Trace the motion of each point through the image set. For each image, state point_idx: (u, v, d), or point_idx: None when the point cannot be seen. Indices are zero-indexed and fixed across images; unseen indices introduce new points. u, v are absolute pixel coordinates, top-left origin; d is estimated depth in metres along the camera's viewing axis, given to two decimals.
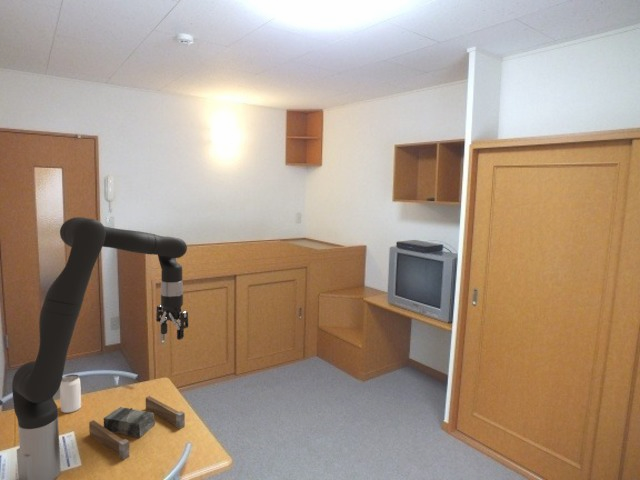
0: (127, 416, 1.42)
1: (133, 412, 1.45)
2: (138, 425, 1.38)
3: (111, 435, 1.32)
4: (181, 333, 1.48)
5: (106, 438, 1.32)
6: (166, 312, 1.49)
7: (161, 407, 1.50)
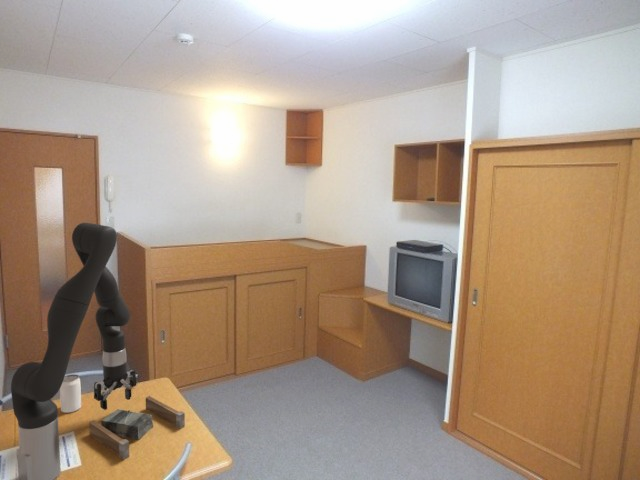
0: (125, 418, 1.41)
1: (130, 414, 1.44)
2: (136, 427, 1.36)
3: (111, 435, 1.32)
4: None
5: (106, 438, 1.32)
6: (116, 382, 1.47)
7: (161, 407, 1.50)
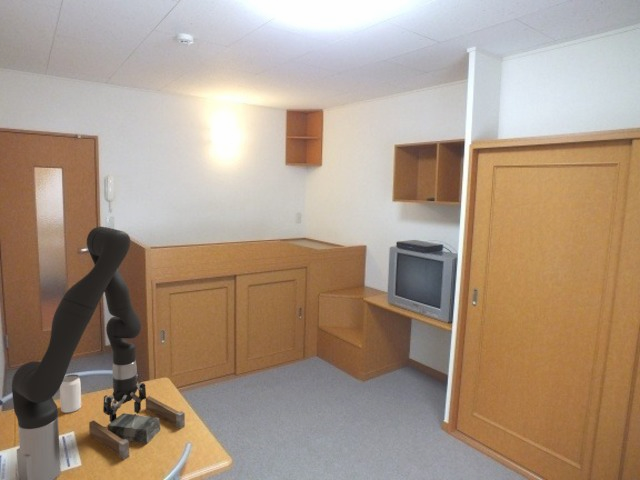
0: (132, 422, 1.39)
1: (137, 418, 1.42)
2: (145, 431, 1.35)
3: (111, 435, 1.32)
4: None
5: (106, 438, 1.32)
6: (126, 395, 1.43)
7: (161, 407, 1.50)
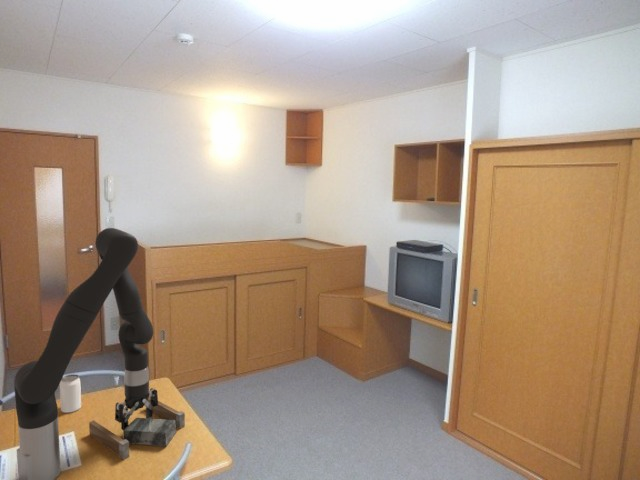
0: (149, 425, 1.37)
1: (152, 421, 1.40)
2: (164, 434, 1.33)
3: (111, 435, 1.32)
4: None
5: (106, 438, 1.32)
6: (138, 402, 1.39)
7: (161, 407, 1.50)
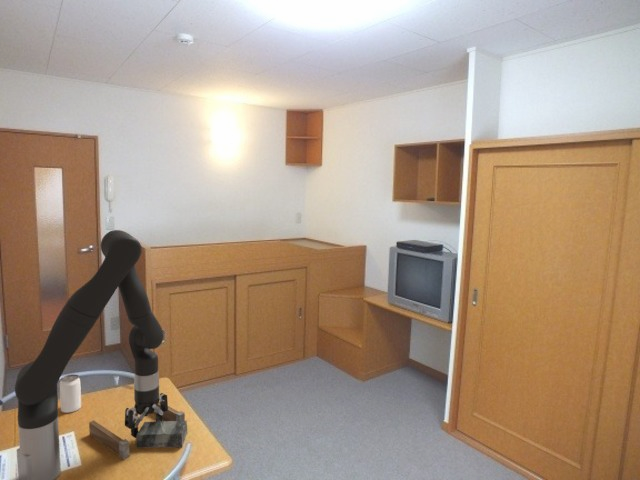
0: (161, 428, 1.36)
1: (164, 424, 1.39)
2: (180, 434, 1.34)
3: (111, 435, 1.32)
4: None
5: (106, 438, 1.32)
6: (148, 407, 1.36)
7: None
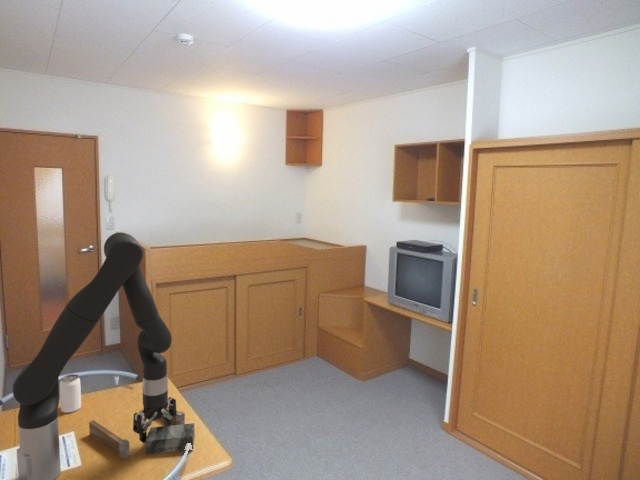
0: (170, 432, 1.34)
1: (171, 428, 1.37)
2: (191, 437, 1.32)
3: (111, 435, 1.32)
4: None
5: (106, 438, 1.32)
6: (156, 412, 1.33)
7: None
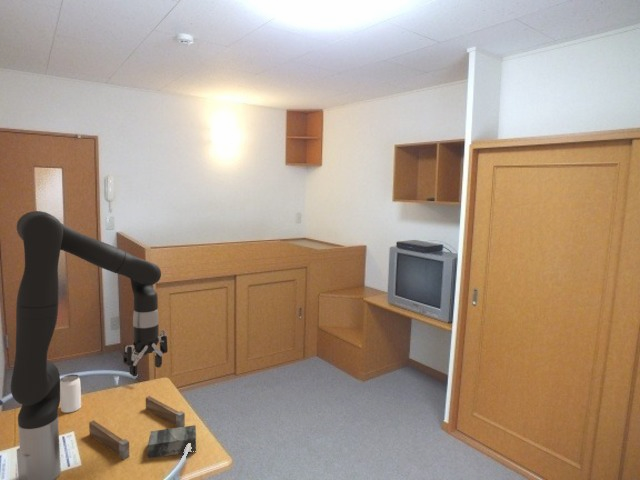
0: (172, 435, 1.33)
1: (172, 431, 1.35)
2: (194, 439, 1.31)
3: (111, 435, 1.32)
4: None
5: (106, 438, 1.32)
6: (147, 346, 1.33)
7: (161, 407, 1.50)
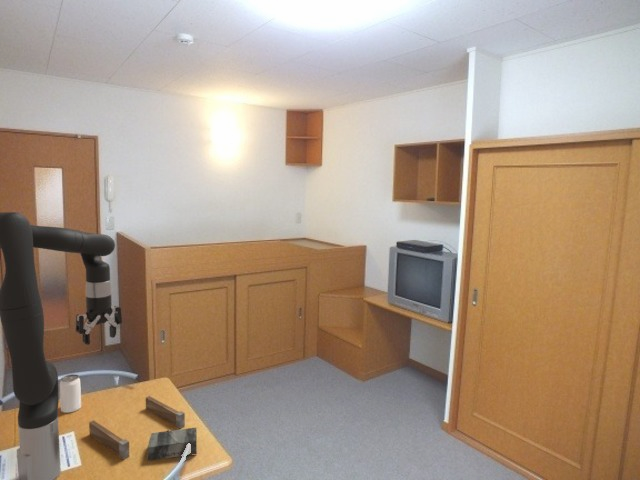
0: (173, 437, 1.31)
1: (173, 433, 1.34)
2: (194, 442, 1.30)
3: (111, 435, 1.32)
4: None
5: (106, 438, 1.32)
6: (99, 315, 1.38)
7: (161, 407, 1.50)
